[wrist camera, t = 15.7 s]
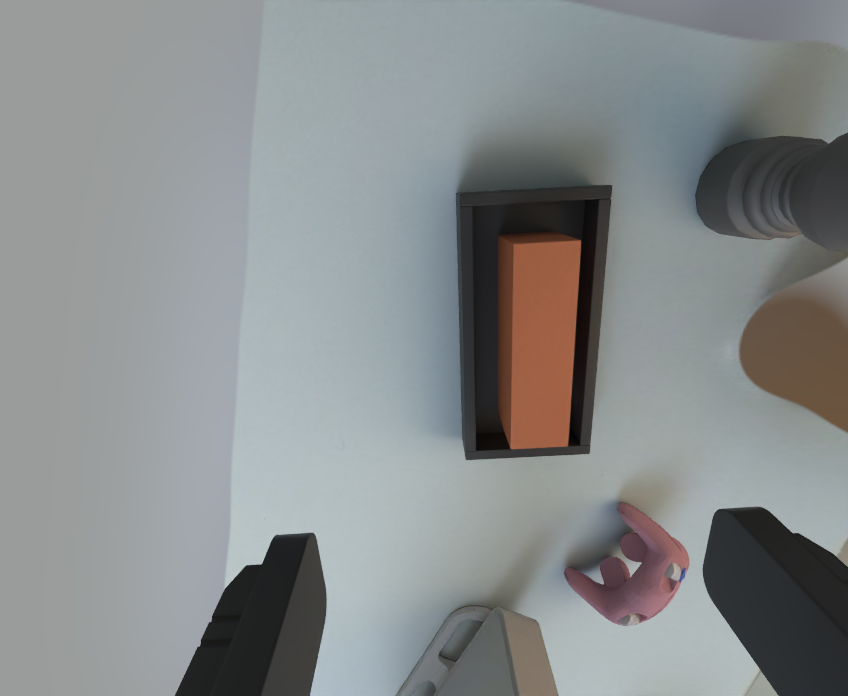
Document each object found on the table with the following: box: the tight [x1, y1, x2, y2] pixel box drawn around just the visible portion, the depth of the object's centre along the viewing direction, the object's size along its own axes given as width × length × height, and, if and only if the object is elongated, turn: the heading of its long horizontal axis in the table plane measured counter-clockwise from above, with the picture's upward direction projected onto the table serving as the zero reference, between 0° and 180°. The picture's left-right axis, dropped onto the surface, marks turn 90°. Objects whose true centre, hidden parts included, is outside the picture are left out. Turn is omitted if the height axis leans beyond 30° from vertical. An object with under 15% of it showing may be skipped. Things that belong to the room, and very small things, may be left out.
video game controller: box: [564, 503, 689, 626], centre depth 39 cm, size 10×5×7 cm, turn 152°
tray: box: [456, 185, 612, 460], centre depth 33 cm, size 20×10×3 cm, turn 3°
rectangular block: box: [497, 231, 581, 449], centre depth 31 cm, size 14×4×6 cm, turn 3°
